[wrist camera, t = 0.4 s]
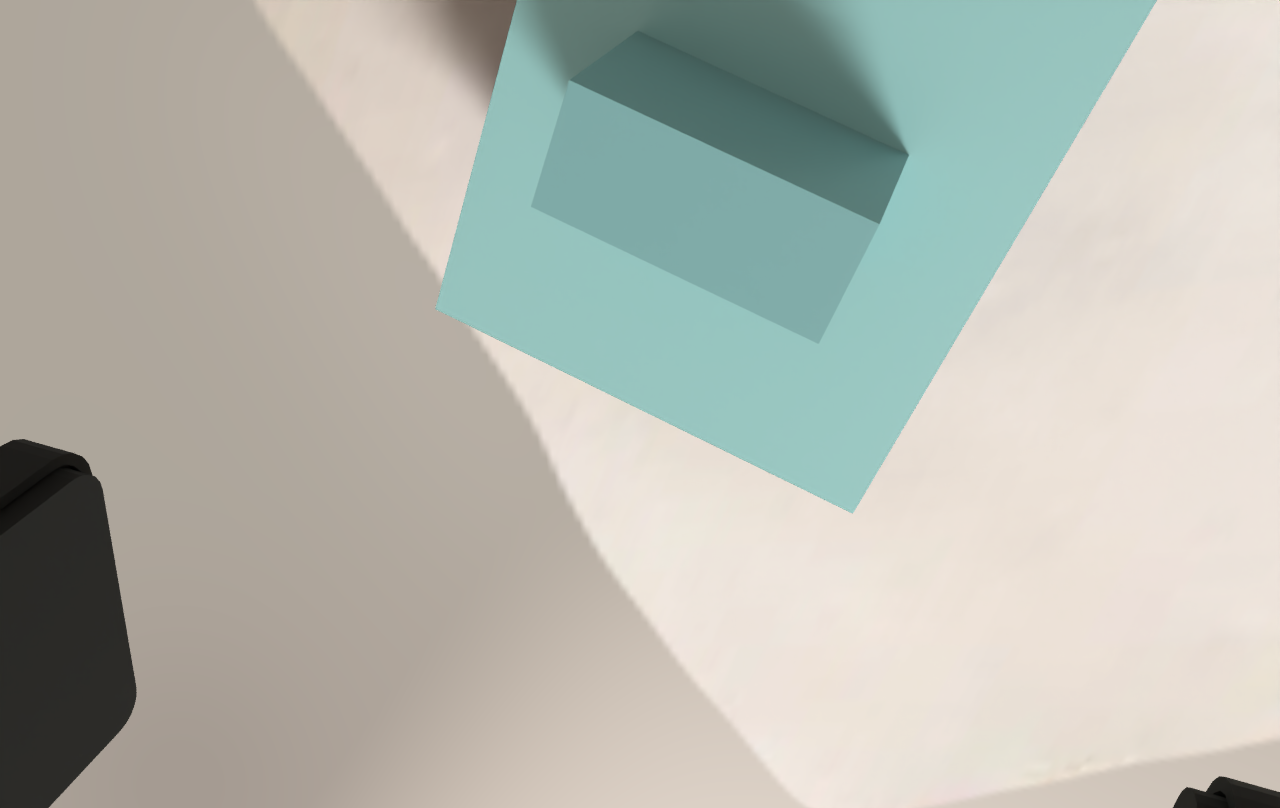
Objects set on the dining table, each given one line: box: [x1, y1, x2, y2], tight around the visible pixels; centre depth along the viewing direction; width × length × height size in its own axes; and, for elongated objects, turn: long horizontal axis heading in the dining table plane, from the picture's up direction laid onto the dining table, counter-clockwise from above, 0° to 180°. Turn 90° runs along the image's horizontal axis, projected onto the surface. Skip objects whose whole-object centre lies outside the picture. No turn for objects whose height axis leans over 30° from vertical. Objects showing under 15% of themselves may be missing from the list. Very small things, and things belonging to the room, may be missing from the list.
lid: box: [436, 0, 1157, 513], centre depth 32 cm, size 19×15×8 cm
